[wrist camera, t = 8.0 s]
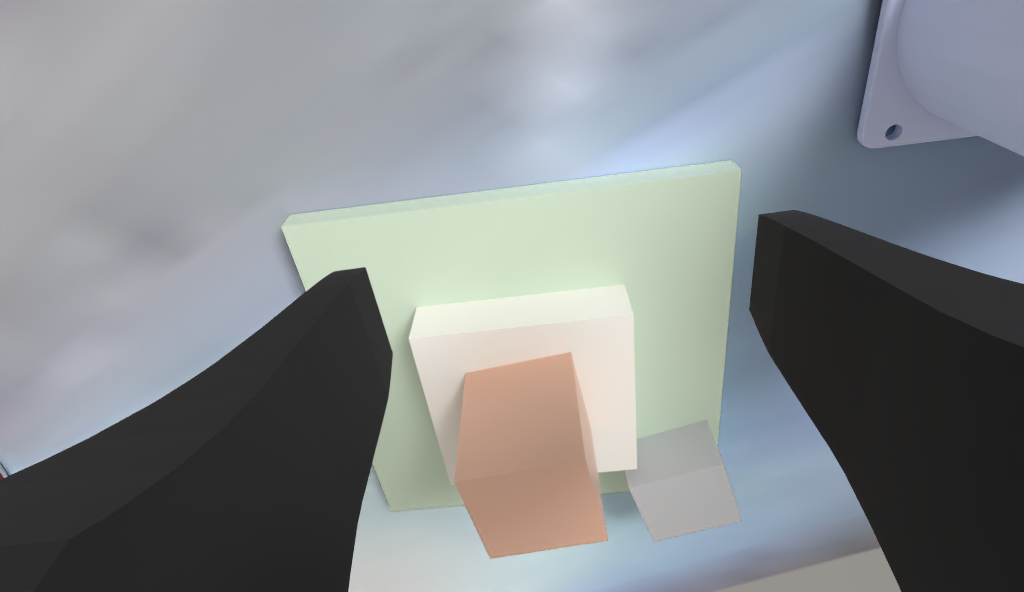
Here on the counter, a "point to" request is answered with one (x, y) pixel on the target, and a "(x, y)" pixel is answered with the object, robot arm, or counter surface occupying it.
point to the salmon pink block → (528, 458)
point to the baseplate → (544, 288)
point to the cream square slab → (531, 335)
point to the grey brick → (681, 483)
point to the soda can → (2, 473)
